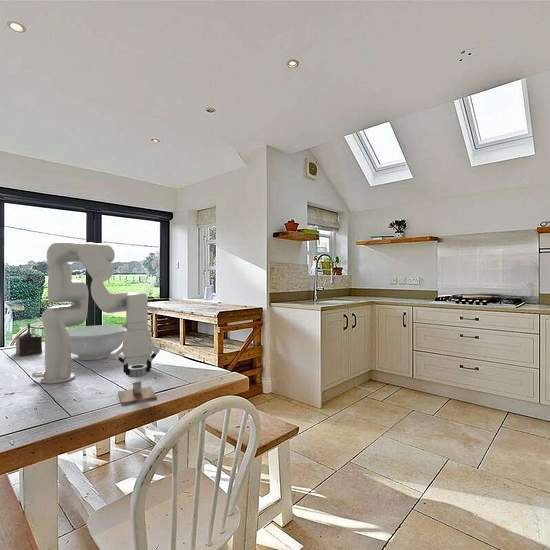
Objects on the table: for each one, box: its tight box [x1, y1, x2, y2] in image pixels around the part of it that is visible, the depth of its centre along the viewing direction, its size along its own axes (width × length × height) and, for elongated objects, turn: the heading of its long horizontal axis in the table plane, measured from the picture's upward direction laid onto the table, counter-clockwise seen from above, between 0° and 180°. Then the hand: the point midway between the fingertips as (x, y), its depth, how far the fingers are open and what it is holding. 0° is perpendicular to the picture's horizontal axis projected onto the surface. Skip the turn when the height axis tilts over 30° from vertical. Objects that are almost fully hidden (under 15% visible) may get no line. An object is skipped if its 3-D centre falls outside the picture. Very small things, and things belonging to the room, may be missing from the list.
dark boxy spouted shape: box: [15, 323, 44, 357], centre depth 193 cm, size 16×11×18 cm
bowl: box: [66, 324, 126, 361], centre depth 186 cm, size 32×32×15 cm
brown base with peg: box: [117, 380, 157, 406], centre depth 131 cm, size 12×12×6 cm
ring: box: [127, 364, 149, 378], centre depth 130 cm, size 7×7×3 cm
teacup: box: [128, 349, 155, 366], centre depth 166 cm, size 12×15×10 cm
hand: (137, 372), depth 131 cm, fingers closed on ring, 7 cm apart
